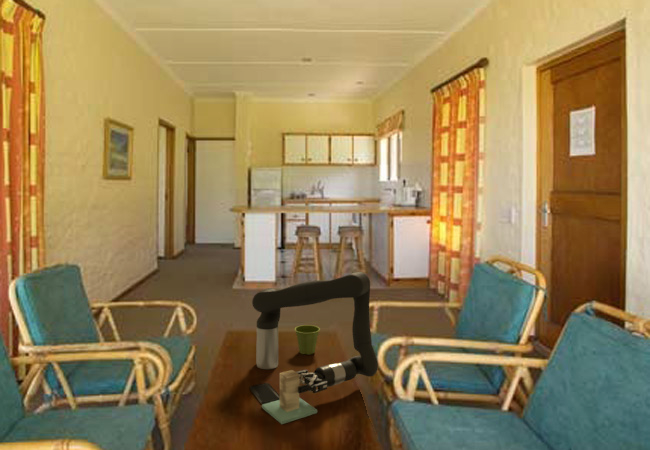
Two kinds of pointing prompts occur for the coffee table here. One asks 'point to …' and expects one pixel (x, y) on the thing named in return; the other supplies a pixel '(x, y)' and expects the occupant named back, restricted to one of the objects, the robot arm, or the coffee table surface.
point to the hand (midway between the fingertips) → (291, 385)
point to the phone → (264, 393)
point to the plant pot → (307, 338)
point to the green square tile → (286, 417)
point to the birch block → (289, 390)
